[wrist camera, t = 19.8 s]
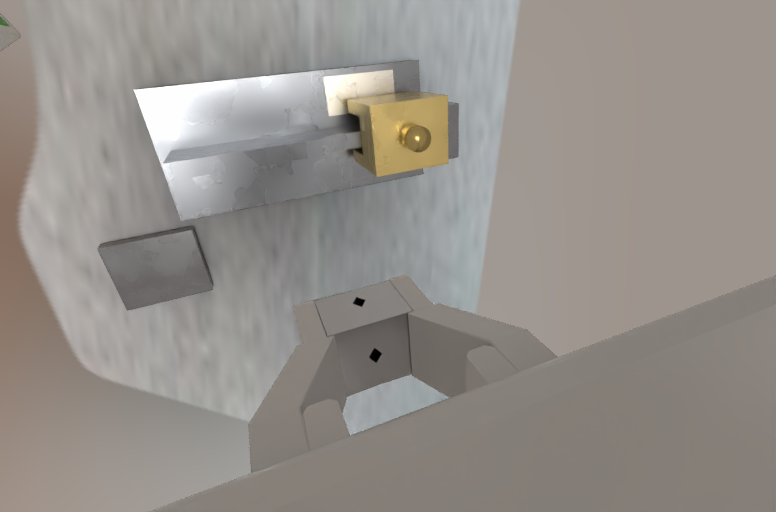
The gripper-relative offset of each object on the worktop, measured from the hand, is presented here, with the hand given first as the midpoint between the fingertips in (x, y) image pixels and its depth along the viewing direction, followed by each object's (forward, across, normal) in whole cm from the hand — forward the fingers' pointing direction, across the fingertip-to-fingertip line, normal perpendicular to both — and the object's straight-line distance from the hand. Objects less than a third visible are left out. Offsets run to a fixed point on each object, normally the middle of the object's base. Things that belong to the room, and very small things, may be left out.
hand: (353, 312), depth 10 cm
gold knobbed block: (+25, -10, 0) cm, 27 cm away
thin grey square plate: (+27, +11, +9) cm, 31 cm away
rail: (+27, -3, 0) cm, 27 cm away
